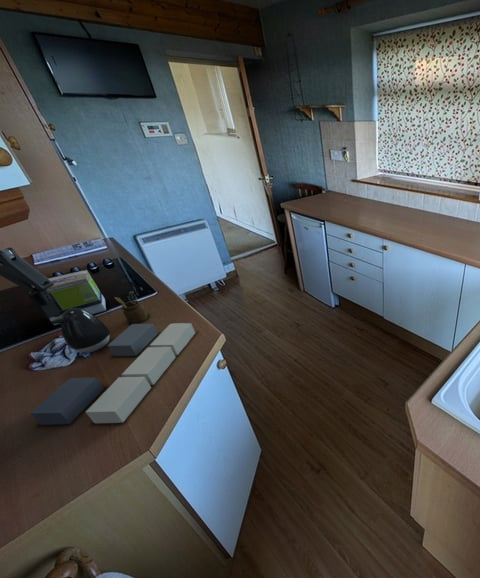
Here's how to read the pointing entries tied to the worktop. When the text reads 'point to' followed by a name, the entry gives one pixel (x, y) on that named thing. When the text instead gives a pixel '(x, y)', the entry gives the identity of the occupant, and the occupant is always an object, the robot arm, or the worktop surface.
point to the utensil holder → (133, 310)
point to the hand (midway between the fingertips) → (22, 315)
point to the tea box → (75, 293)
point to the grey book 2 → (132, 340)
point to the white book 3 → (175, 337)
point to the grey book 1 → (67, 401)
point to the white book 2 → (151, 364)
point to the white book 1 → (119, 400)
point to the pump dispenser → (83, 330)
